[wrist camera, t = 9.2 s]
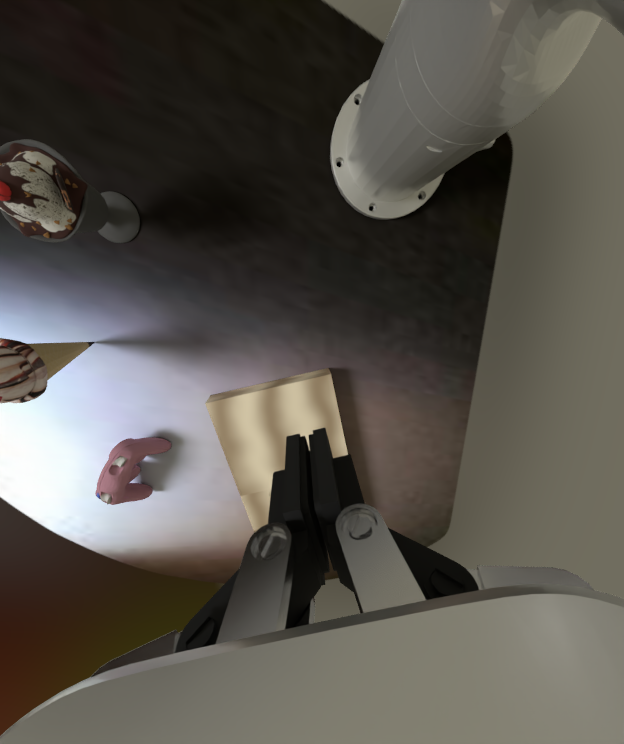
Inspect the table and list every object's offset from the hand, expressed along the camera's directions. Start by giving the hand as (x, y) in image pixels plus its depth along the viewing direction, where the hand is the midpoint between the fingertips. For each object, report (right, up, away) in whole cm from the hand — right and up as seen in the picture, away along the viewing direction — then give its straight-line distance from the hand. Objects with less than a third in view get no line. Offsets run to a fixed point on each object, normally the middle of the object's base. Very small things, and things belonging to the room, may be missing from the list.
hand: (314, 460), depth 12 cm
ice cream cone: (-26, +7, +23) cm, 36 cm away
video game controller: (-24, -9, +29) cm, 38 cm away
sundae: (-21, +20, +19) cm, 35 cm away
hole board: (-3, -9, +30) cm, 31 cm away
